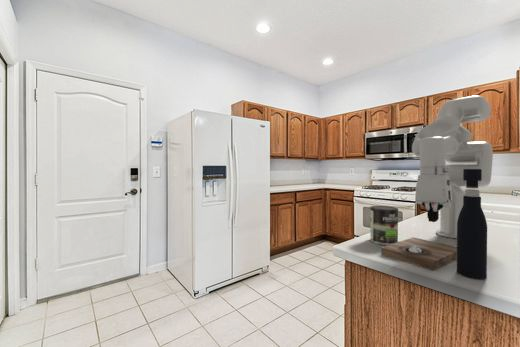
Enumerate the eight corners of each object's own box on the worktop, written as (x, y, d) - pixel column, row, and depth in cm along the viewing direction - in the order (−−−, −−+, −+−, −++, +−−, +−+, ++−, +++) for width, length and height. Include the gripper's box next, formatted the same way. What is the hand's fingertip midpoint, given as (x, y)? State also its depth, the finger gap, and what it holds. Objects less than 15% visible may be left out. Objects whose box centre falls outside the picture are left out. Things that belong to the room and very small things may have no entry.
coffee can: (404, 244, 95) (404, 209, 95) (380, 246, 93) (380, 210, 93) (386, 237, 105) (386, 205, 105) (365, 238, 104) (365, 206, 103)
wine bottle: (492, 280, 64) (494, 169, 64) (465, 278, 66) (467, 169, 65) (475, 270, 71) (477, 168, 70) (451, 269, 72) (452, 169, 71)
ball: (404, 250, 81) (407, 258, 83) (417, 253, 78) (420, 262, 79) (409, 241, 83) (412, 250, 84) (422, 245, 80) (425, 253, 81)
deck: (413, 243, 96) (413, 237, 96) (462, 255, 83) (462, 248, 83) (381, 254, 85) (381, 247, 84) (433, 270, 71) (433, 262, 71)
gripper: (462, 170, 83) (462, 223, 84) (415, 170, 95) (416, 215, 96) (453, 172, 79) (453, 227, 80) (405, 171, 91) (406, 219, 93)
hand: (433, 221), depth 88 cm, fingers closed
